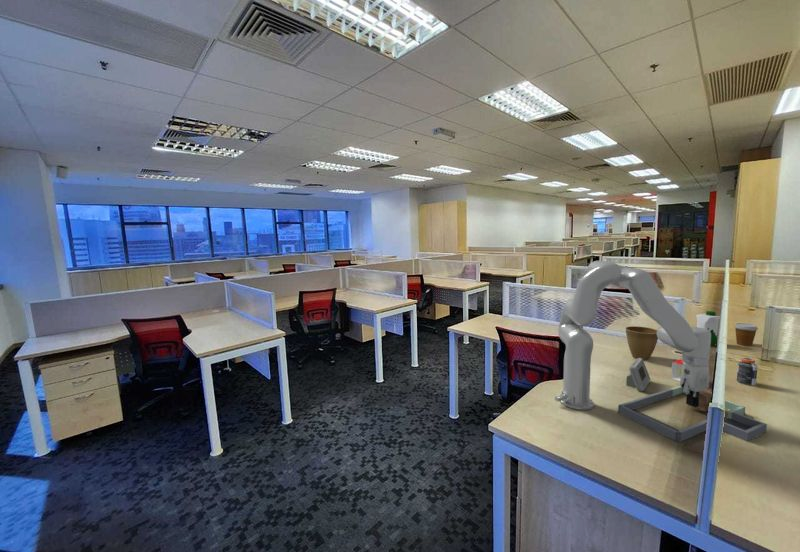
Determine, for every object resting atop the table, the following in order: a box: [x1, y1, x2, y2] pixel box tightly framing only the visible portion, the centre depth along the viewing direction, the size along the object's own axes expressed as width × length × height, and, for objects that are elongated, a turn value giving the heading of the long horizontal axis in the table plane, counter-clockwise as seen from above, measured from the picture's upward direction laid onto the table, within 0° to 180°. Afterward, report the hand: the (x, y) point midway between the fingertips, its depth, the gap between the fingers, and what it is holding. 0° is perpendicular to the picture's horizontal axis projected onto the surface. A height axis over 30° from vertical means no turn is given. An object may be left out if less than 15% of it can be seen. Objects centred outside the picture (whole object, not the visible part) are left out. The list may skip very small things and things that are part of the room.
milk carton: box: [695, 310, 721, 347], centre depth 191 cm, size 9×9×20 cm
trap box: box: [617, 385, 768, 443], centre depth 117 cm, size 40×28×3 cm
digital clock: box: [625, 358, 651, 392], centre depth 144 cm, size 16×9×11 cm, turn 121°
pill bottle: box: [736, 357, 758, 386], centre depth 142 cm, size 6×6×11 cm
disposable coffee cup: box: [734, 322, 759, 347], centre depth 189 cm, size 10×10×12 cm
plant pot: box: [625, 325, 659, 361], centre depth 175 cm, size 15×15×16 cm
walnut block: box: [689, 389, 713, 412], centre depth 125 cm, size 6×6×6 cm
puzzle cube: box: [671, 358, 683, 382], centre depth 147 cm, size 8×8×8 cm
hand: (692, 405), depth 123 cm, fingers closed
